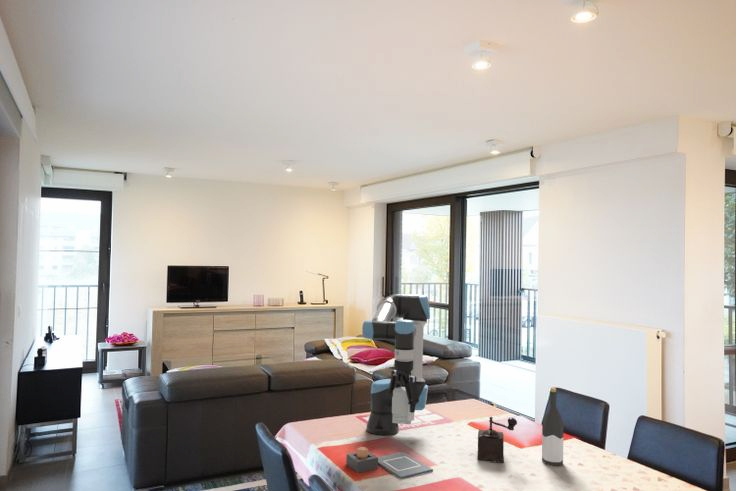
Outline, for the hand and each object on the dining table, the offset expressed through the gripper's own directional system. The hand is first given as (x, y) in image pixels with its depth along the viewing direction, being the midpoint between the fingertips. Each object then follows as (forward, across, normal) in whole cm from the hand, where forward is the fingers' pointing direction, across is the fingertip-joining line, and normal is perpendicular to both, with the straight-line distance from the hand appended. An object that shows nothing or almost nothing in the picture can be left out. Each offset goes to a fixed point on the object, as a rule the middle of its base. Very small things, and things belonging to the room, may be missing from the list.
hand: (402, 416), depth 203 cm
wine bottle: (+19, +26, +56) cm, 65 cm away
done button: (+17, -7, -14) cm, 23 cm away
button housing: (+19, -7, -14) cm, 25 cm away
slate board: (+19, 0, 0) cm, 19 cm away
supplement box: (+2, 0, 0) cm, 2 cm away
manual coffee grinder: (+19, +12, +39) cm, 45 cm away
